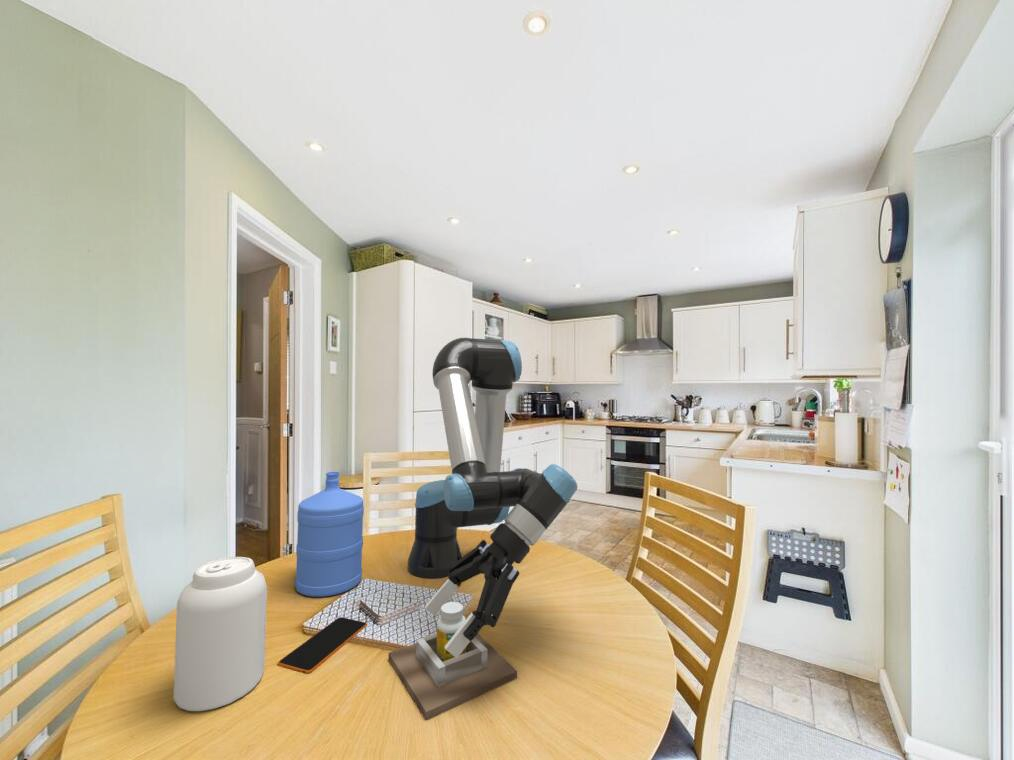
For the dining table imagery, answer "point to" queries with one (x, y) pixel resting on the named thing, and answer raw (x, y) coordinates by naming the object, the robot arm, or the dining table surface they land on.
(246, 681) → the can
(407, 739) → the dining table surface
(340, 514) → the water jug
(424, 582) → the dining table surface
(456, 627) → the supplement bottle
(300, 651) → the smartphone
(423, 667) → the square framed base tray
